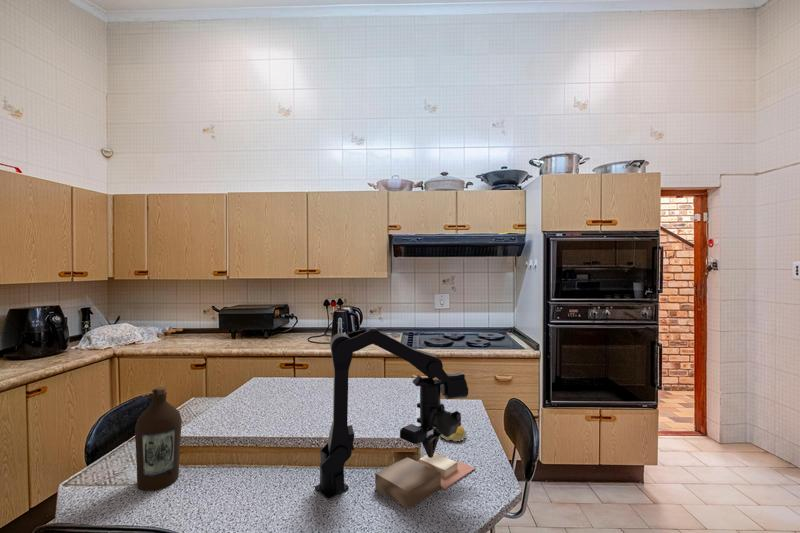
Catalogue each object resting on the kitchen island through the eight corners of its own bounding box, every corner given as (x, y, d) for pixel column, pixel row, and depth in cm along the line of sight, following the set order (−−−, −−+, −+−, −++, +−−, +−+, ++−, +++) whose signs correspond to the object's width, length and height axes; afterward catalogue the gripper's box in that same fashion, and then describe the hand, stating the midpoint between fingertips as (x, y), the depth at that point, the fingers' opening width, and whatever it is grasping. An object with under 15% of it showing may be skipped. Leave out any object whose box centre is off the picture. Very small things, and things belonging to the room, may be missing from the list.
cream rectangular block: (432, 451, 112) (432, 458, 112) (419, 459, 107) (419, 466, 107) (457, 461, 105) (457, 469, 105) (444, 470, 101) (444, 477, 101)
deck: (375, 488, 97) (375, 473, 97) (407, 471, 105) (407, 457, 105) (408, 509, 88) (408, 492, 88) (440, 488, 97) (440, 472, 97)
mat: (405, 469, 106) (405, 468, 106) (437, 452, 116) (437, 451, 116) (444, 489, 96) (444, 488, 96) (475, 469, 106) (475, 468, 106)
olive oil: (135, 478, 102) (136, 386, 102) (180, 467, 108) (180, 380, 108) (133, 498, 93) (134, 397, 94) (182, 484, 99) (183, 389, 99)
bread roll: (442, 430, 133) (442, 419, 133) (467, 434, 130) (467, 422, 130) (436, 440, 125) (436, 428, 125) (463, 444, 122) (462, 432, 122)
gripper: (430, 417, 91) (430, 481, 91) (473, 399, 104) (474, 455, 104) (398, 406, 99) (398, 465, 99) (442, 390, 112) (442, 442, 112)
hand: (430, 457), depth 103 cm, fingers closed
